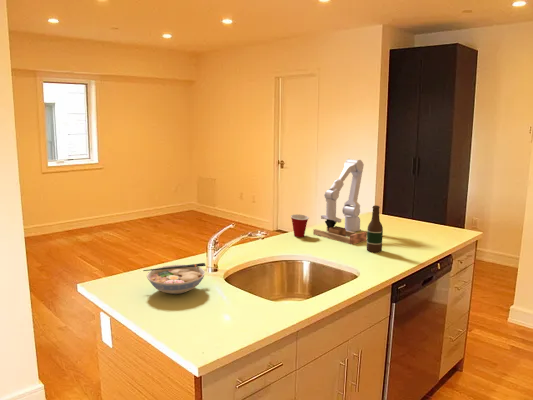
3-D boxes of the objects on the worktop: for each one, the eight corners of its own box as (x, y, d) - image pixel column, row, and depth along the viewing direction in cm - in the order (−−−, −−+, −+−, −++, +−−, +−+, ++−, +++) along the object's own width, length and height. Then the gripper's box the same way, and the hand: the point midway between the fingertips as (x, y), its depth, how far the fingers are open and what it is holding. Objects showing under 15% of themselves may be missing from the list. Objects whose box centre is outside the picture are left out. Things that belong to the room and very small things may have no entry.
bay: (328, 230, 282) (328, 223, 281) (366, 240, 260) (367, 232, 259) (313, 234, 274) (313, 226, 273) (351, 244, 251) (352, 235, 250)
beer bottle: (382, 253, 235) (384, 207, 231) (366, 252, 236) (368, 206, 232) (381, 249, 242) (383, 204, 238) (366, 248, 244) (368, 204, 240)
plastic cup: (302, 239, 262) (302, 218, 260) (286, 236, 268) (286, 216, 266) (312, 235, 270) (312, 215, 268) (297, 232, 277) (297, 213, 275)
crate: (336, 234, 273) (336, 225, 272) (345, 237, 267) (345, 228, 267) (328, 236, 268) (328, 227, 267) (337, 238, 263) (337, 229, 262)
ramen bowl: (145, 305, 168) (144, 284, 166) (143, 284, 189) (142, 265, 188) (212, 298, 175) (212, 278, 173) (203, 278, 196) (203, 260, 195)
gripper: (317, 208, 272) (317, 231, 275) (335, 212, 261) (335, 235, 264) (325, 207, 277) (325, 229, 279) (344, 211, 266) (343, 233, 268)
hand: (330, 232), depth 272 cm, fingers closed
